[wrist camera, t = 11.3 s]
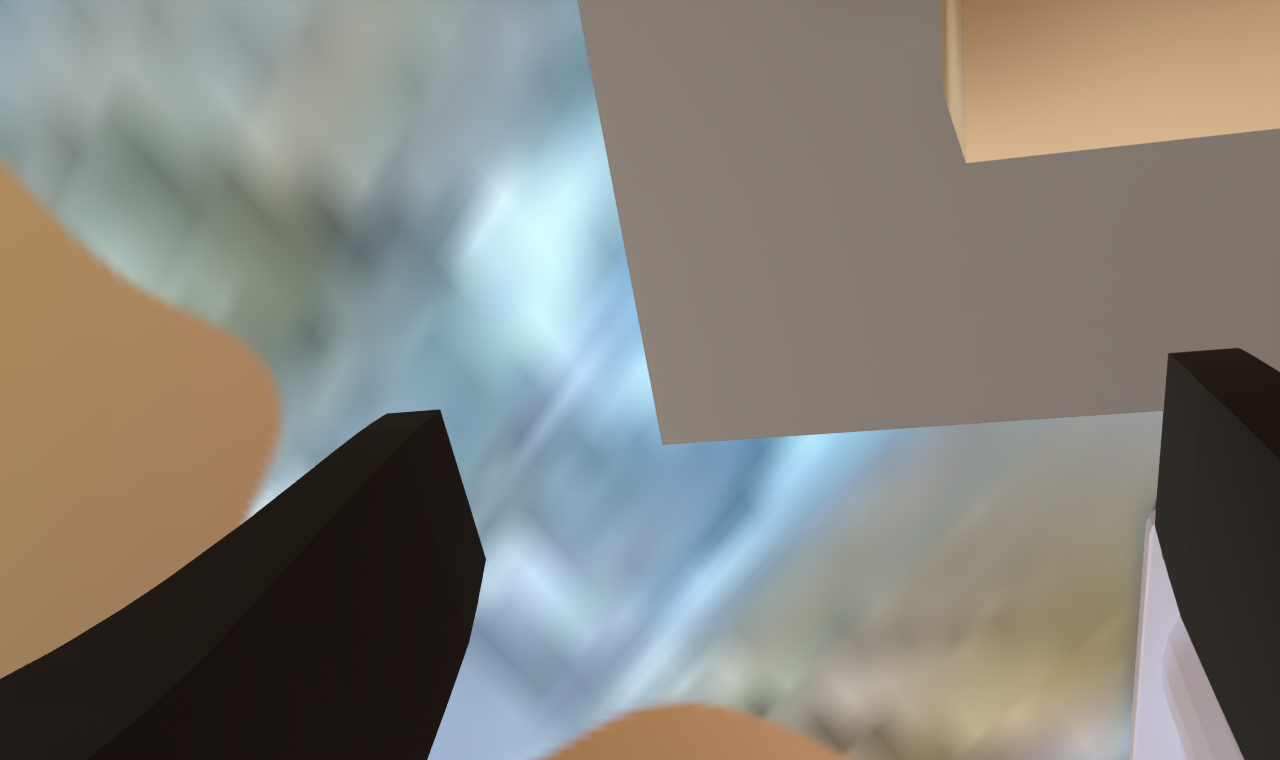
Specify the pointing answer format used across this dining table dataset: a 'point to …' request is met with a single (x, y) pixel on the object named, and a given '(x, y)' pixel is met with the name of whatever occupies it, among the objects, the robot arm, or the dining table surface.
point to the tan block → (1106, 72)
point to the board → (901, 232)
